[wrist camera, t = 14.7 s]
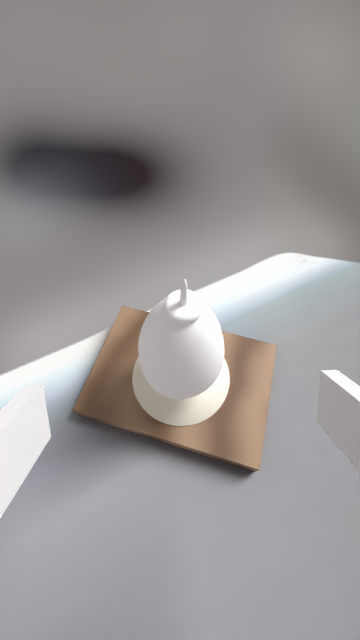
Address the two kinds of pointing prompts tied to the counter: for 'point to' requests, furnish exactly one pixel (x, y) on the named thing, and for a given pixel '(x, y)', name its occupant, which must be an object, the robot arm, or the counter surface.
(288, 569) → the counter surface
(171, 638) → the counter surface
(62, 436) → the counter surface
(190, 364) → the white pear with stem
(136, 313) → the walnut board
